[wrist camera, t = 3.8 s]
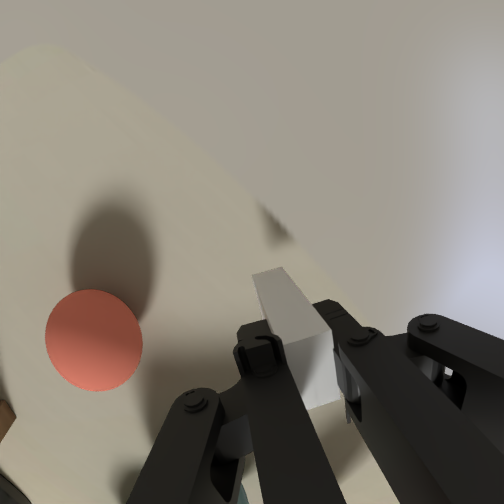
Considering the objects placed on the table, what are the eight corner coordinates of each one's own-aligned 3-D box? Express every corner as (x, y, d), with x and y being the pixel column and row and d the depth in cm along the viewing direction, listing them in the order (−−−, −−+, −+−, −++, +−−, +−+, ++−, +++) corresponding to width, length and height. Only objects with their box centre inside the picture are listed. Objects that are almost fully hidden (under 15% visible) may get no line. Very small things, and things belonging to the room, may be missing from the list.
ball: (90, 363, 17) (61, 414, 12) (56, 288, 16) (10, 324, 11) (163, 349, 18) (149, 405, 12) (131, 266, 16) (99, 301, 11)
